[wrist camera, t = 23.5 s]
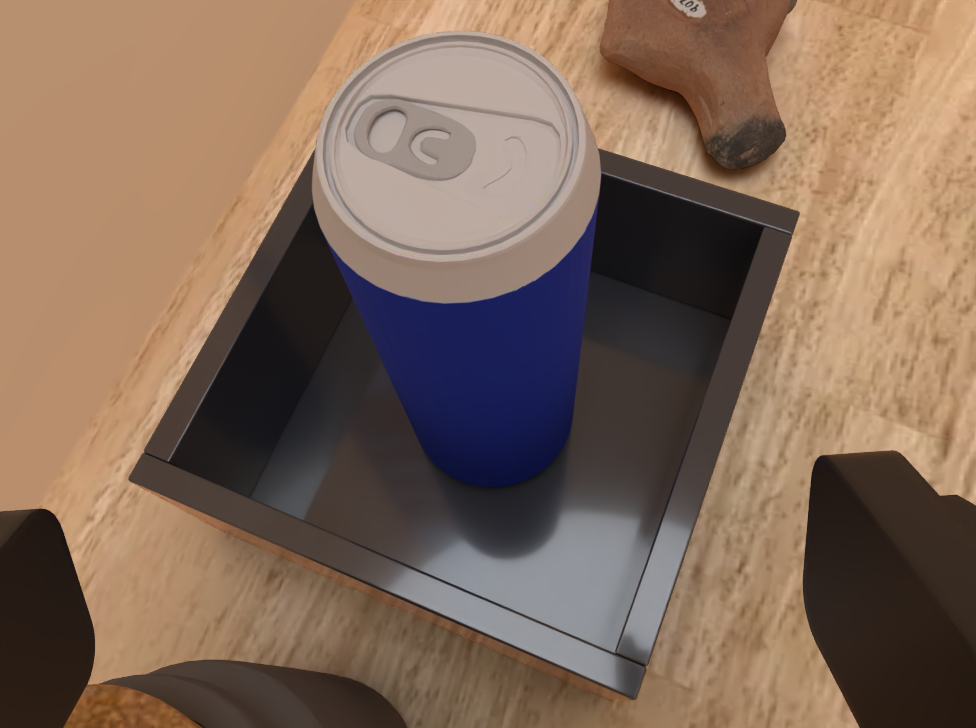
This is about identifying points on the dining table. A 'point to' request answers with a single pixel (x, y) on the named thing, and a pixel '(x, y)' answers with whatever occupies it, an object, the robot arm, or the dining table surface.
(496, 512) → the open box
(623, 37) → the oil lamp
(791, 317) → the dining table surface
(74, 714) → the bottle
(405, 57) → the beverage can
